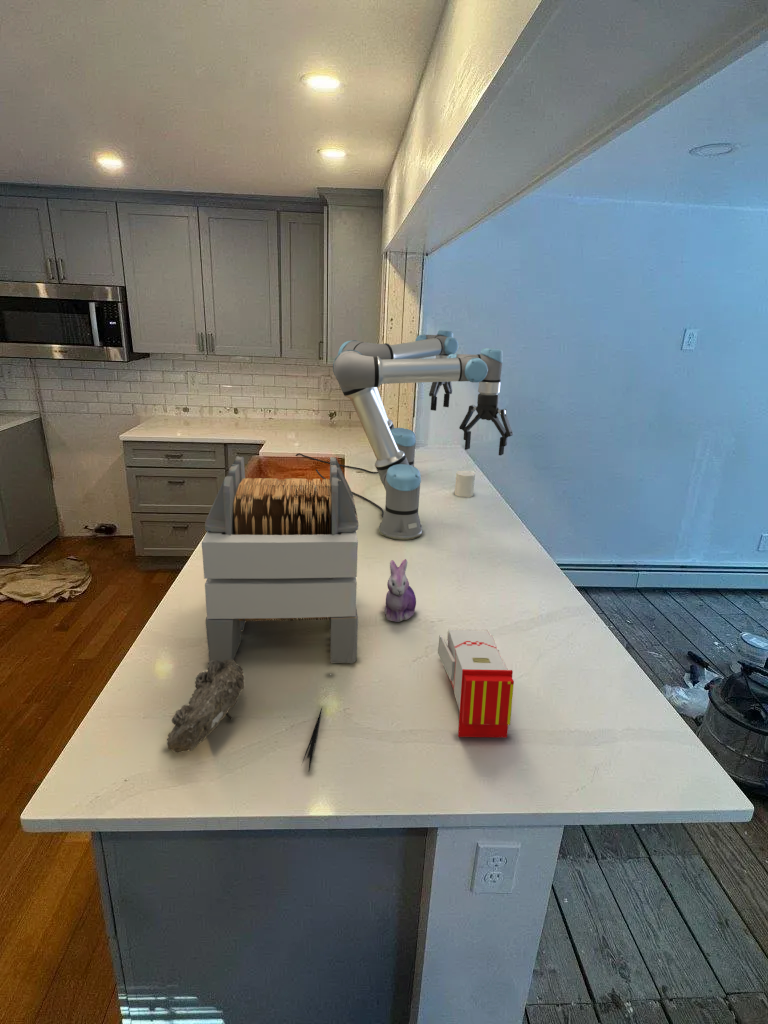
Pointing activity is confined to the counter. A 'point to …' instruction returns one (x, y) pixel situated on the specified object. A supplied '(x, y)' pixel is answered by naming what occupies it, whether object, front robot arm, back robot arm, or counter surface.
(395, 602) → the figurine
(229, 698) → the fossil
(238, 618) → the record crate stand
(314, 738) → the feather
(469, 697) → the toy
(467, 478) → the cylinder
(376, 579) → the counter surface
